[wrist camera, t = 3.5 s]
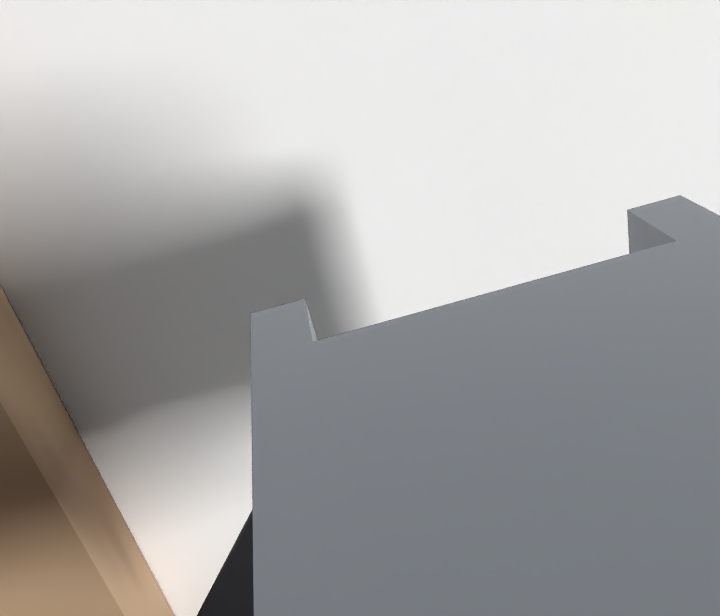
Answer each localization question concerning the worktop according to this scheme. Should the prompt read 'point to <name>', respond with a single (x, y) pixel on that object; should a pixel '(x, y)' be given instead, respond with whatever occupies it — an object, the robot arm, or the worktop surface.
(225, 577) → the robot arm
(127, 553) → the rail board
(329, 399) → the block
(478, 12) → the worktop surface
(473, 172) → the worktop surface
